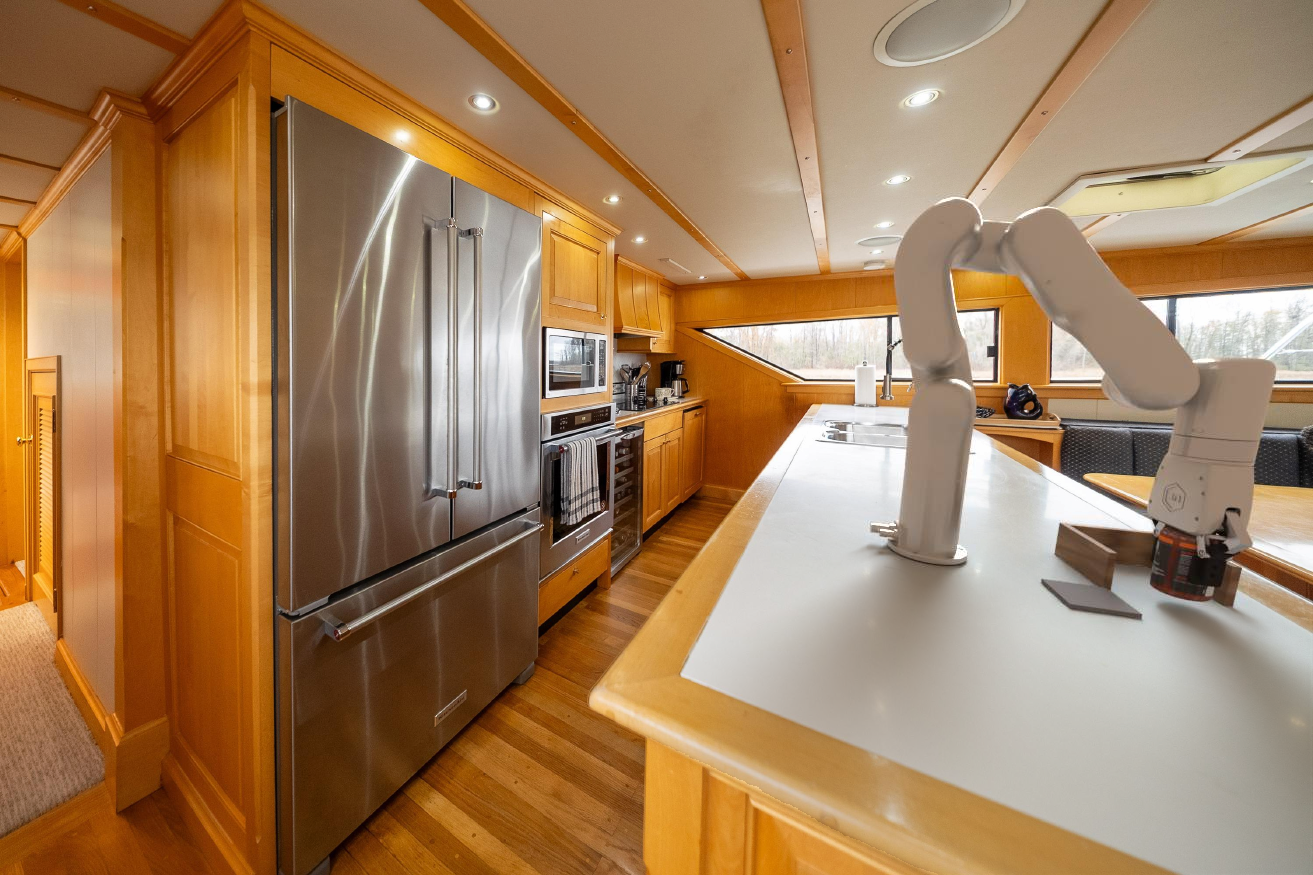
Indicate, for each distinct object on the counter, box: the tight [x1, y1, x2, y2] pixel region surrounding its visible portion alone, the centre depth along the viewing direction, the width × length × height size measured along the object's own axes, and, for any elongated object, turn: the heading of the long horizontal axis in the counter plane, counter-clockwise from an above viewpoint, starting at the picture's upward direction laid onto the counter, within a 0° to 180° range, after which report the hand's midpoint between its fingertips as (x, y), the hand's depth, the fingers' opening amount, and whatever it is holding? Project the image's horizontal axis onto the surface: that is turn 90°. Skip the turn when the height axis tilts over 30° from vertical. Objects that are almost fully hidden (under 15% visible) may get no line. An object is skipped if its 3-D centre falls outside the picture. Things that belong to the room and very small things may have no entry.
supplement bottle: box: [1149, 526, 1218, 603], centre depth 63 cm, size 6×6×11 cm
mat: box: [1040, 578, 1143, 619], centre depth 66 cm, size 8×8×1 cm
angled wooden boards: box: [1054, 522, 1243, 608], centre depth 73 cm, size 15×14×6 cm
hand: (1183, 572), depth 64 cm, fingers closed on supplement bottle, 5 cm apart
